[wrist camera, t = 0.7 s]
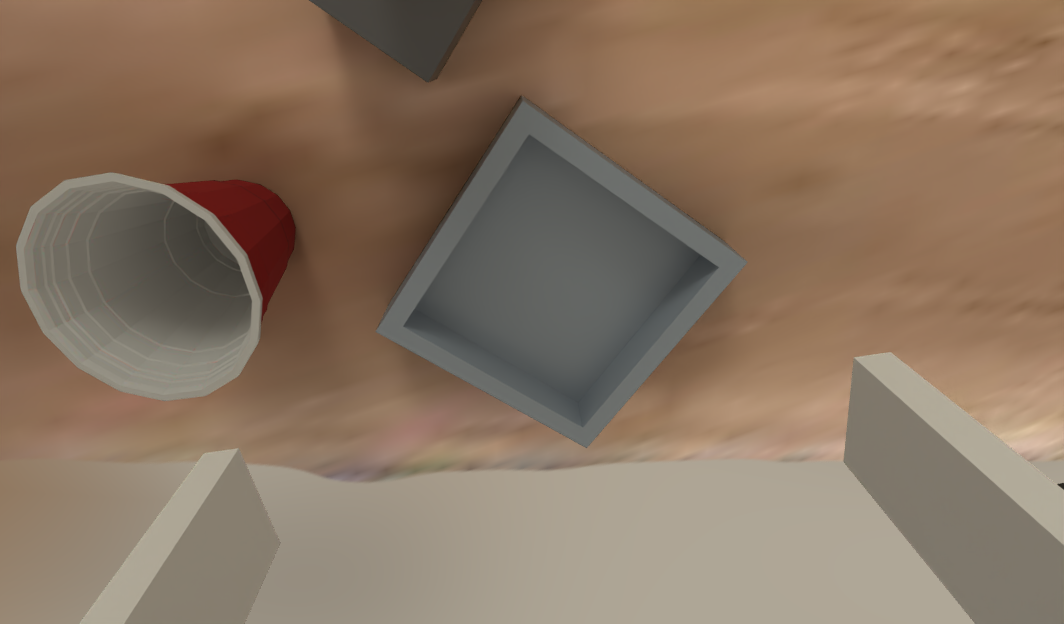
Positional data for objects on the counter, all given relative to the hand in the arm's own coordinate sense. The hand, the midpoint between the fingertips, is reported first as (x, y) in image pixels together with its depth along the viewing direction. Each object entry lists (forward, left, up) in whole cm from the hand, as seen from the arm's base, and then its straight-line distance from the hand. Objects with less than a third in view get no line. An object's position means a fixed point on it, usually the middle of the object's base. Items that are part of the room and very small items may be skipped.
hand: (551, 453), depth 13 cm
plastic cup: (-13, -11, -26) cm, 31 cm away
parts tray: (+5, -3, -26) cm, 27 cm away
